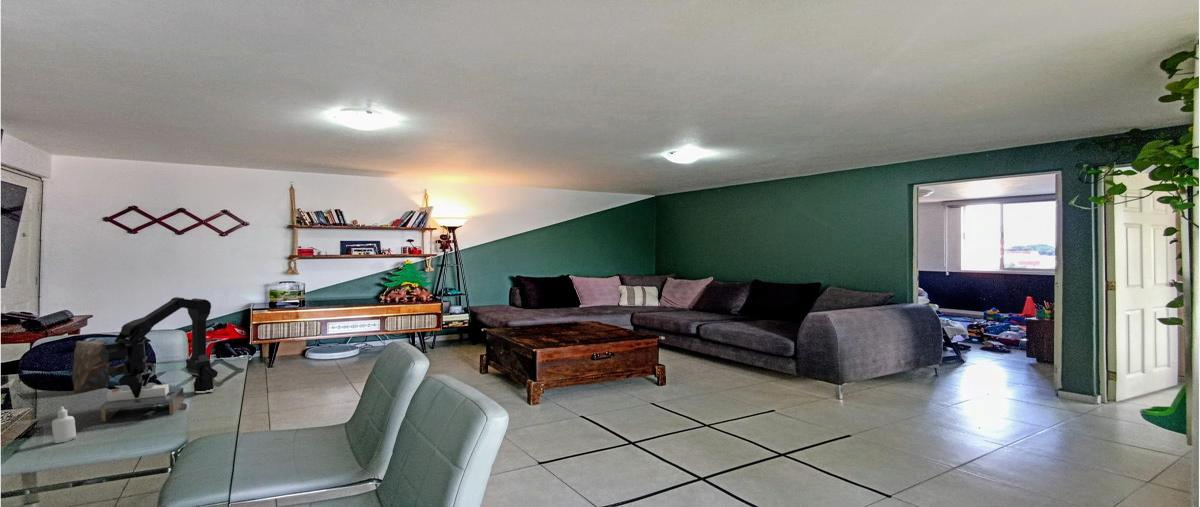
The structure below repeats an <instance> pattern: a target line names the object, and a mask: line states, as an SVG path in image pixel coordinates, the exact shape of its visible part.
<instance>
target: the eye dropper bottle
mask: <svg viewBox="0 0 1200 507" xmlns="http://www.w3.org/2000/svg"><path fill="white" fill-rule="evenodd" d="M51 428H52V430H51V431H52V439H54V440H64V439H68V438H71V437H75V436H76V437H77V429H76V420H75V417H74V416H72V415H68V409H67V408H66V409H65V407H64V406H60V407H59V410H58V411H57V417H56V418H55V419H53V420H52V421H51Z"/></svg>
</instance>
